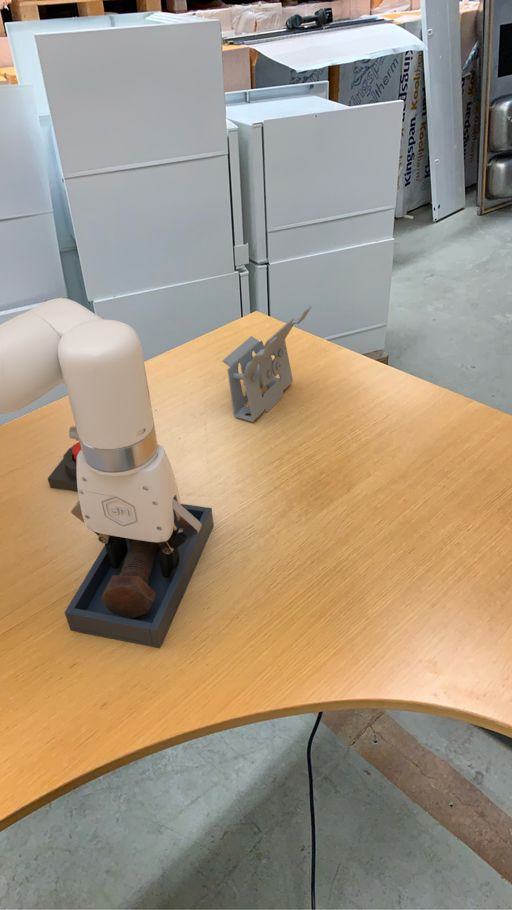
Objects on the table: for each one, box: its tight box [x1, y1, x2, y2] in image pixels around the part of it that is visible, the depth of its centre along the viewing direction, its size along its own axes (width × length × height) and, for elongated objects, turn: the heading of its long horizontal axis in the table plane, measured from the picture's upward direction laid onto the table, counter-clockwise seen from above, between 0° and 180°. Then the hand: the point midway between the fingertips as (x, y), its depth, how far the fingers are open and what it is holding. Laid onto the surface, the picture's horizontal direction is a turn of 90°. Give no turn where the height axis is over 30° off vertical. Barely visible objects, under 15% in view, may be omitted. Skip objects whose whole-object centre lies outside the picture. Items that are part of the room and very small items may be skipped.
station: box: [47, 444, 78, 493], centre depth 92 cm, size 9×8×4 cm
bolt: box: [101, 538, 161, 618], centre depth 76 cm, size 6×5×15 cm
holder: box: [64, 503, 214, 649], centre depth 77 cm, size 11×19×3 cm, turn 166°
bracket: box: [222, 305, 313, 423], centre depth 102 cm, size 13×10×15 cm
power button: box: [72, 441, 81, 463], centre depth 91 cm, size 4×4×2 cm
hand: (144, 563), depth 77 cm, fingers closed on bolt, 5 cm apart
